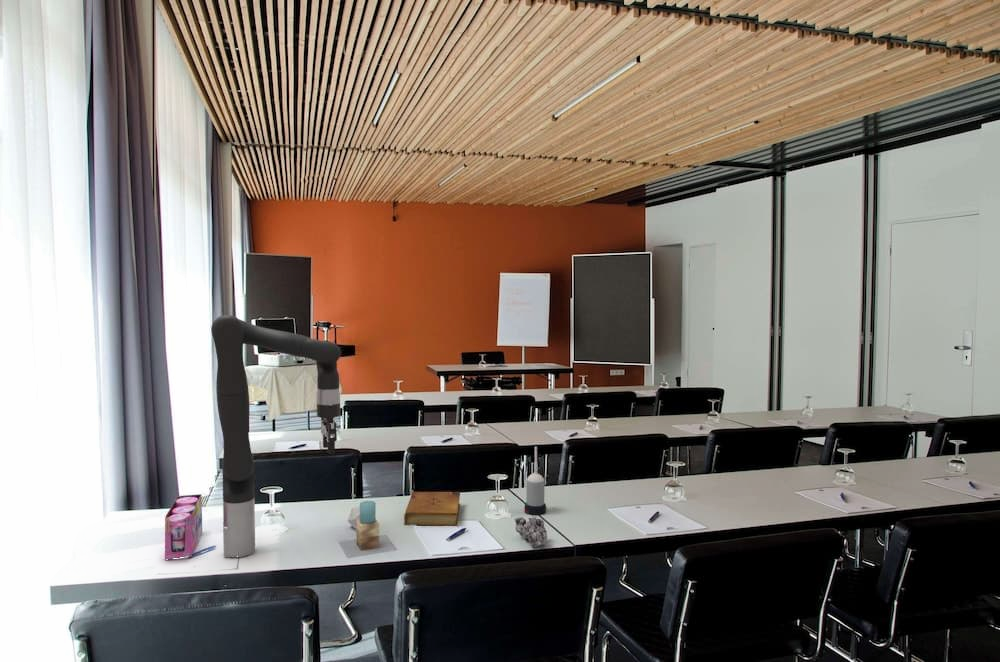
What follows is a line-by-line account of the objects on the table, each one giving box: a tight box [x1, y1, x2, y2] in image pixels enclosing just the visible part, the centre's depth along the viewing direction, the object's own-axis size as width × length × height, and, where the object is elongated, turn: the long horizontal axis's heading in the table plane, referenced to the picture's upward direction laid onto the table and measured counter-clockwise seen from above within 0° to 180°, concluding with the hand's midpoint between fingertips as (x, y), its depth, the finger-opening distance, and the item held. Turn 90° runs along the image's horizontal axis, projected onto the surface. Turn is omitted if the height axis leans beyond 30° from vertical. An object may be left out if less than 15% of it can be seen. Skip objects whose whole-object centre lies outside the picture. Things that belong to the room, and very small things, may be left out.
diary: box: [403, 491, 461, 527], centre depth 245 cm, size 23×19×6 cm
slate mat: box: [338, 534, 399, 559], centre depth 215 cm, size 16×14×1 cm
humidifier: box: [523, 446, 547, 516], centre depth 250 cm, size 8×8×25 cm
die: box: [347, 505, 360, 530], centre depth 232 cm, size 8×9×10 cm
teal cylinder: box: [359, 500, 377, 524], centre depth 214 cm, size 5×5×6 cm
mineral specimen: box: [513, 515, 548, 549], centre depth 220 cm, size 13×10×11 cm
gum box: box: [164, 494, 203, 561], centre depth 214 cm, size 24×8×14 cm, turn 17°
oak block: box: [355, 519, 380, 538], centre depth 214 cm, size 6×6×4 cm
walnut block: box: [355, 532, 380, 551], centre depth 215 cm, size 6×6×4 cm
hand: (328, 450), depth 220 cm, fingers open, 8 cm apart
